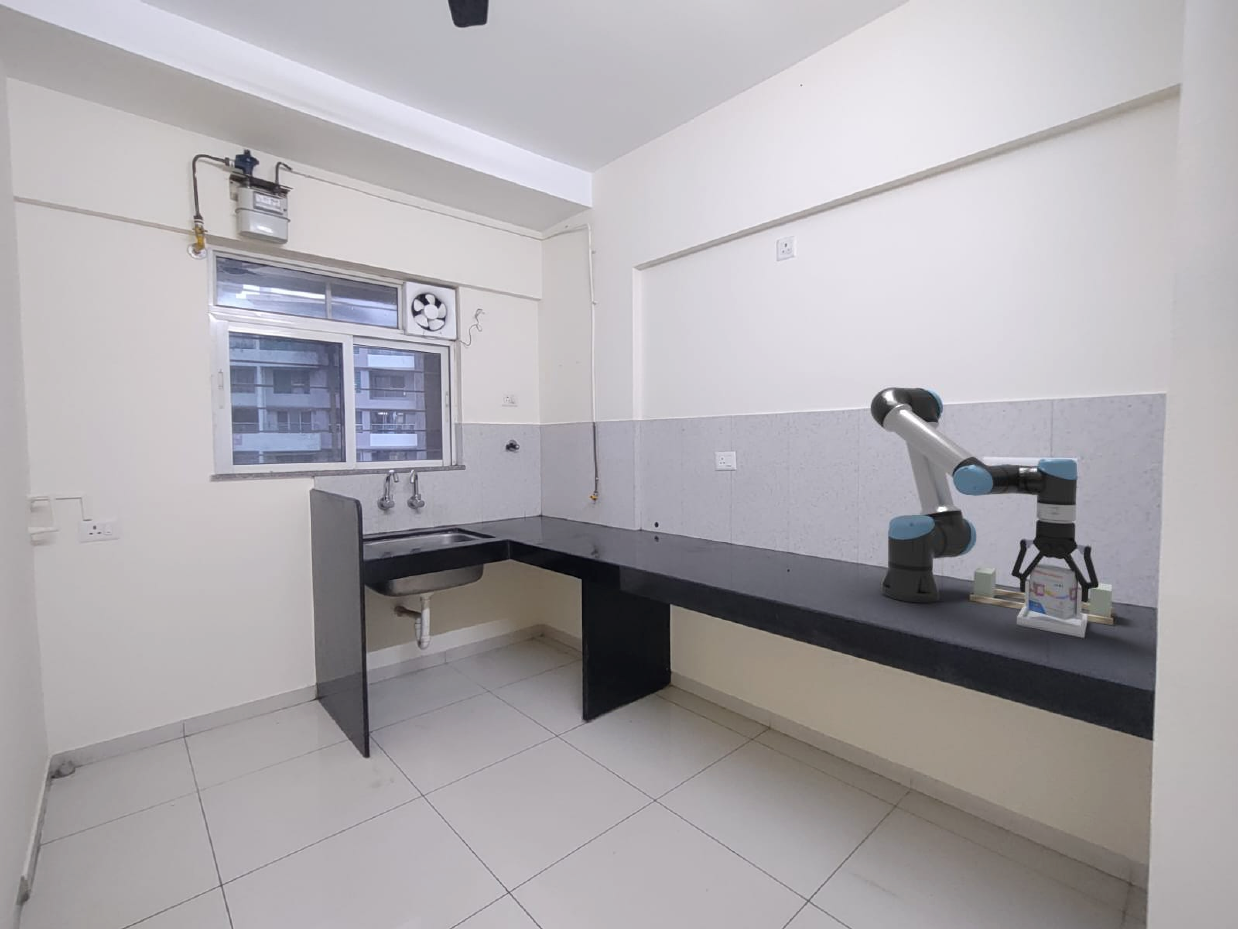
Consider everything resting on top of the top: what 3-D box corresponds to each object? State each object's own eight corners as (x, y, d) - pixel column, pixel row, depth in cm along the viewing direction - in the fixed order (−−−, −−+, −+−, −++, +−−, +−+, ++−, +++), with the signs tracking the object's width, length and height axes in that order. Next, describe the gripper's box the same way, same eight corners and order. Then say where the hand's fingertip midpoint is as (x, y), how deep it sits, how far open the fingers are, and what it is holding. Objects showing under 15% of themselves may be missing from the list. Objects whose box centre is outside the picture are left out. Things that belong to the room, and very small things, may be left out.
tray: (1016, 624, 131) (1016, 617, 131) (1024, 611, 141) (1024, 603, 141) (1084, 637, 122) (1084, 629, 122) (1087, 622, 133) (1087, 614, 133)
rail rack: (969, 600, 151) (969, 595, 151) (978, 591, 160) (978, 586, 160) (1112, 625, 130) (1113, 619, 130) (1113, 613, 140) (1113, 607, 140)
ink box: (1026, 610, 135) (1028, 564, 134) (1039, 607, 137) (1041, 562, 136) (1065, 620, 127) (1067, 572, 126) (1078, 618, 129) (1080, 570, 128)
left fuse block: (973, 598, 153) (974, 571, 152) (979, 593, 158) (979, 566, 158) (990, 601, 150) (991, 574, 149) (995, 595, 156) (995, 569, 155)
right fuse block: (1088, 618, 135) (1090, 588, 135) (1090, 611, 141) (1091, 582, 141) (1110, 622, 132) (1111, 591, 132) (1110, 614, 138) (1111, 584, 138)
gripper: (998, 517, 136) (996, 603, 137) (1116, 527, 120) (1112, 624, 121) (1003, 514, 141) (1001, 597, 142) (1116, 523, 126) (1112, 616, 127)
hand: (1052, 609), depth 132 cm, fingers closed on ink box, 9 cm apart
